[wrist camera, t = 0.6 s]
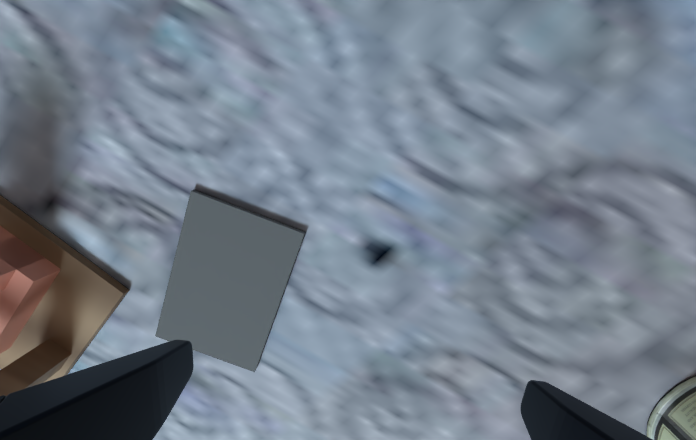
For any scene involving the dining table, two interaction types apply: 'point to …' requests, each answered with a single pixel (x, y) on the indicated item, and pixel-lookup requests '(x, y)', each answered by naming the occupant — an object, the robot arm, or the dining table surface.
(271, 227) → the mat
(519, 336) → the dining table surface
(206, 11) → the dining table surface
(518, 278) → the dining table surface
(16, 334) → the c link
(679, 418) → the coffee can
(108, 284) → the stand
